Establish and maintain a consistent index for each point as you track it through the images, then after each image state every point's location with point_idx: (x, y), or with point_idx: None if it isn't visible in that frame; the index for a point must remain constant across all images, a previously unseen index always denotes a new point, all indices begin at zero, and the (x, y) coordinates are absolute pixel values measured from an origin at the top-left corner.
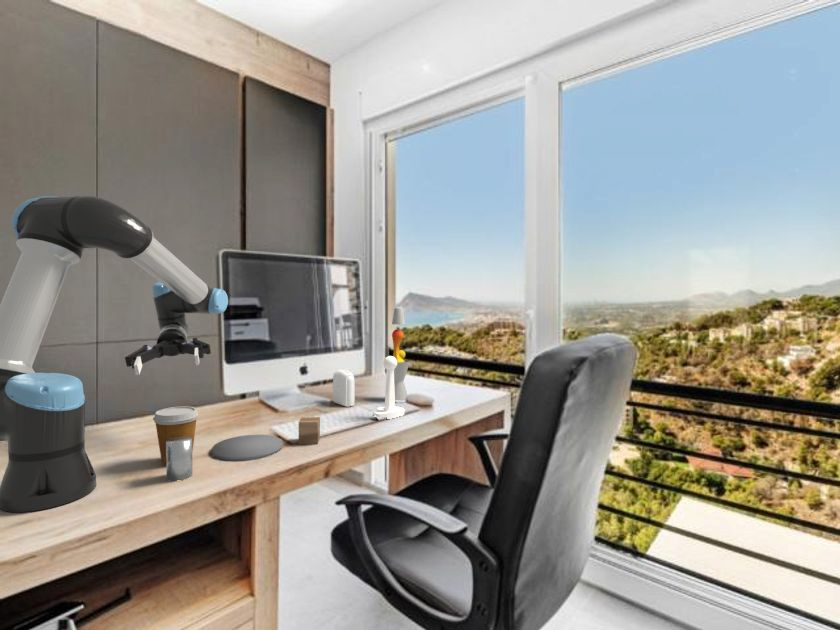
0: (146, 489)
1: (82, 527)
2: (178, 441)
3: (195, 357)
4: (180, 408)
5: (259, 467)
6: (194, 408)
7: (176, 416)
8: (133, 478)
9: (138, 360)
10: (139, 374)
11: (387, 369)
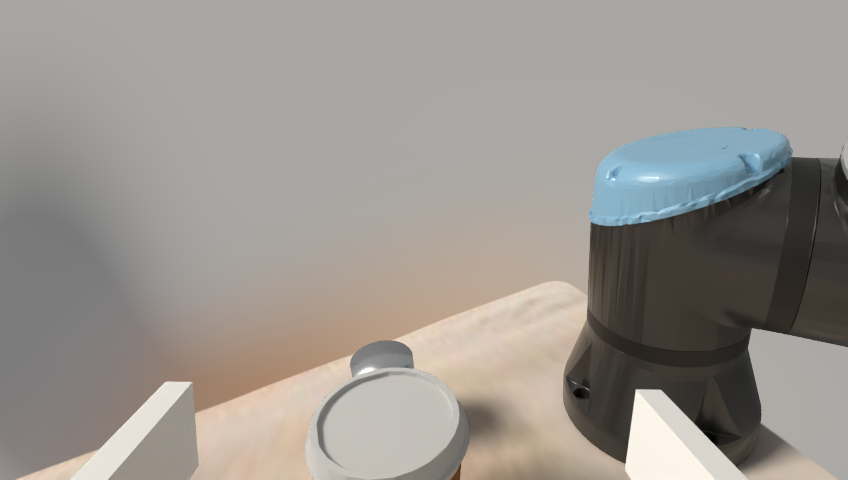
0: (454, 390)
1: (510, 308)
2: (383, 352)
3: (187, 397)
4: (369, 472)
5: (210, 442)
6: (315, 434)
7: (383, 371)
8: (501, 447)
9: (701, 459)
10: (628, 475)
11: None
